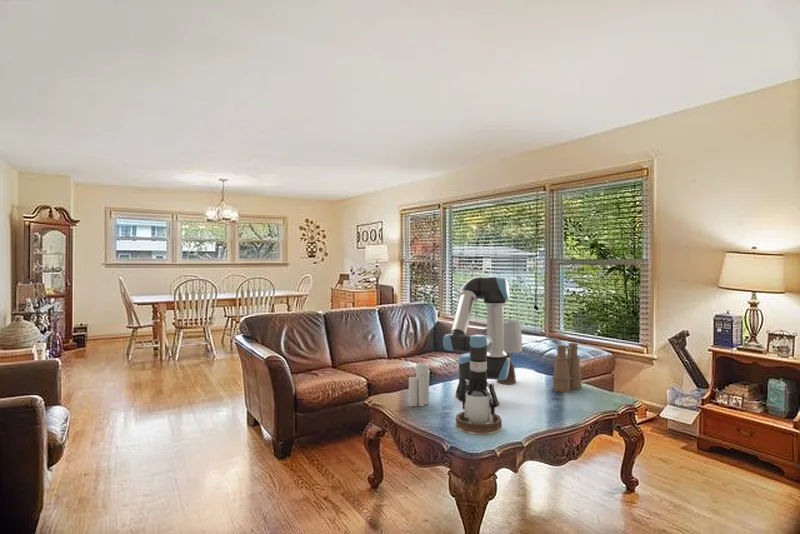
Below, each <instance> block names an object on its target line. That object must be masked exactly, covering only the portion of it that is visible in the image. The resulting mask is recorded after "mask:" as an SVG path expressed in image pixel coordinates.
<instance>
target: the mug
mask: <svg viewBox="0 0 800 534" xmlns="http://www.w3.org/2000/svg"><path fill="white" fill-rule="evenodd" d="M468 392H469V391H467V392H466V412H467V416H468V419H469V421H470V422H471V423H472V424H485V423H486V422H487V420H488V418H489V407H490V405H489V400H490V398H492V397H491V393H490V391H488V393H489V396H486V397H485V396H484V394H483V393H482V392H479V391H473V393H472V394H471V395H468Z"/></svg>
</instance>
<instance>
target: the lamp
mask: <svg viewBox="0 0 800 534" xmlns="http://www.w3.org/2000/svg"><path fill="white" fill-rule="evenodd" d="M504 352H505V353H506V354H507V358H510V367H509V372H508V376H507V378H506V379H505V380H496V382H497V383H498V384H501V385H513V384H516V383H517V379H516V371H515V367H514V363H513V361H512V358H511V357H512V356H513V355H512V353H513V354H514V353H520V352H523V337H522V323H521V320H519V319H512V318H510V319H508V318H504Z"/></svg>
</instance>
